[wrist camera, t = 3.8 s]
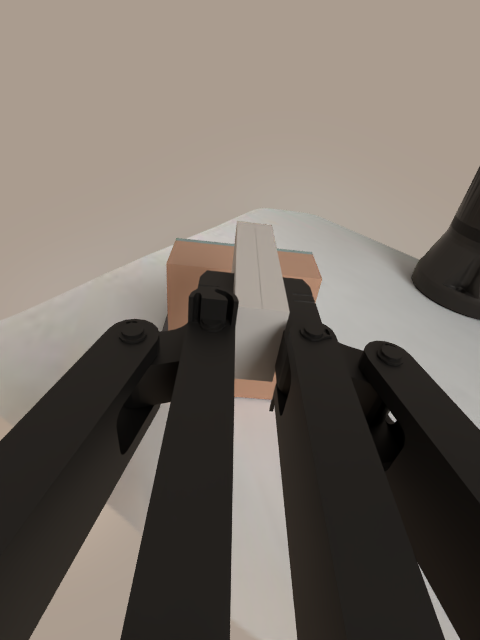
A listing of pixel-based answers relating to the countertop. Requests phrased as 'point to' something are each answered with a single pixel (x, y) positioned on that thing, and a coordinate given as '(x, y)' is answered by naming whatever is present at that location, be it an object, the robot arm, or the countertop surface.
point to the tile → (204, 255)
